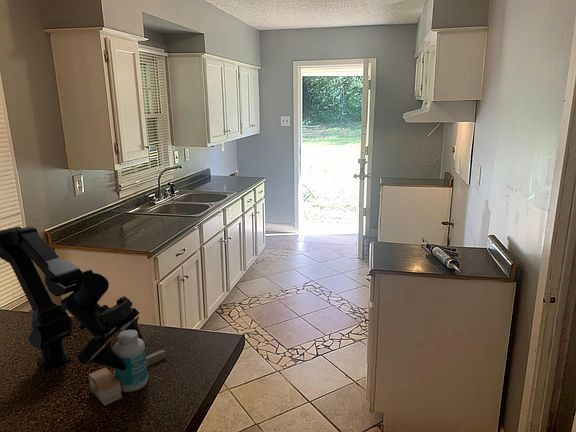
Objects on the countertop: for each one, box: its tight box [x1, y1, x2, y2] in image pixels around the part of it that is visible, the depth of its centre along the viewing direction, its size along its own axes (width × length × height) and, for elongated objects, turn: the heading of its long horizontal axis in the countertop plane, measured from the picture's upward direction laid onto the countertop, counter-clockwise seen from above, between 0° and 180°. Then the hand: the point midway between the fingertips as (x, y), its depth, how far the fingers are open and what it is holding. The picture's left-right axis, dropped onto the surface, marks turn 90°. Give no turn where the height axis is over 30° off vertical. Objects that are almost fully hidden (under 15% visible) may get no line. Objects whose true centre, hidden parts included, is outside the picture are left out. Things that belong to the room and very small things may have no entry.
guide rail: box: [112, 349, 167, 376], centre depth 114 cm, size 1×14×2 cm, turn 135°
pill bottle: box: [112, 330, 149, 393], centre depth 106 cm, size 8×7×14 cm
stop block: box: [88, 366, 123, 406], centre depth 103 cm, size 8×4×4 cm, turn 45°
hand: (135, 358), depth 105 cm, fingers open, 9 cm apart
